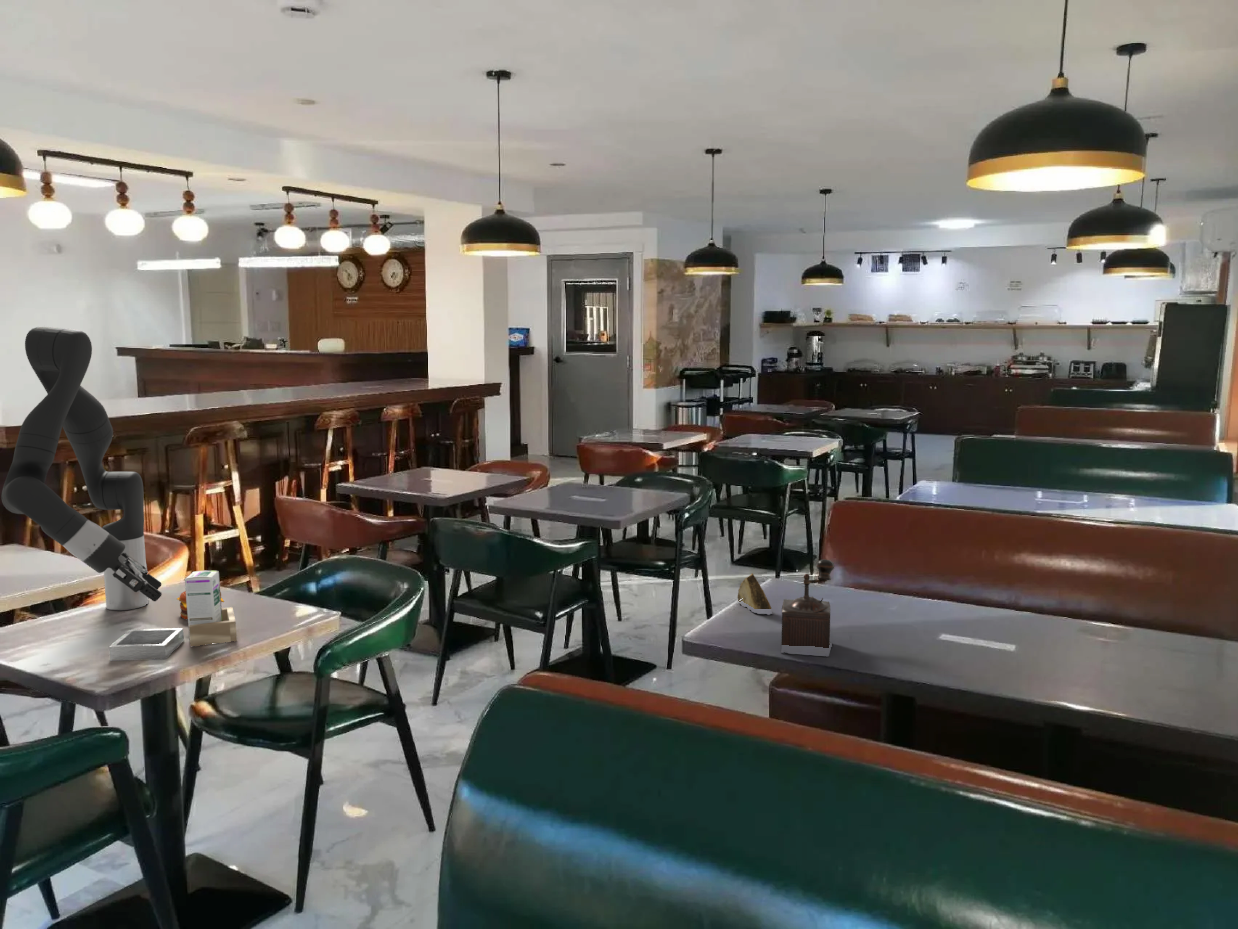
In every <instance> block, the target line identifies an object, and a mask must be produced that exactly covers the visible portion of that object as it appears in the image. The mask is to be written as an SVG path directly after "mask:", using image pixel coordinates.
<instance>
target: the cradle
mask: <svg viewBox="0 0 1238 929" xmlns="http://www.w3.org/2000/svg"><path fill="white" fill-rule="evenodd" d="M221 608H222V621H221V622H213V623H204V624H196V625H189V627H188V632H189V631H190V639H189V642H190V644H189V645H190V646H195V647H201V646H200V645H203V646H208V645H207V644H211V645H213V644H212V643H219V644H225V642H226V643H232V642H231V641H234V642H237V640H238V638H237V625H236V624H237V622H236V617H235V613H234V612H235V611H234V609H233V606H230V607H221ZM205 644H206V645H205Z"/></svg>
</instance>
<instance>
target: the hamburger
mask: <svg viewBox="0 0 1238 929" xmlns="http://www.w3.org/2000/svg"><path fill="white" fill-rule="evenodd" d="M220 595H221V596H222V592H221V591H220ZM176 600H177V601H179V602H180V603H179V608H180V612H179V613H180V614H179V615H180V618H181V617H182V618H181V619H183V618H184V620H185V619H188V615H187V603H186V590H184V591H183V592H181V593H180V594H179V597H177V598H176ZM224 602H225V601H224V599H223V598H222V597H221V603H224Z"/></svg>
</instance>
